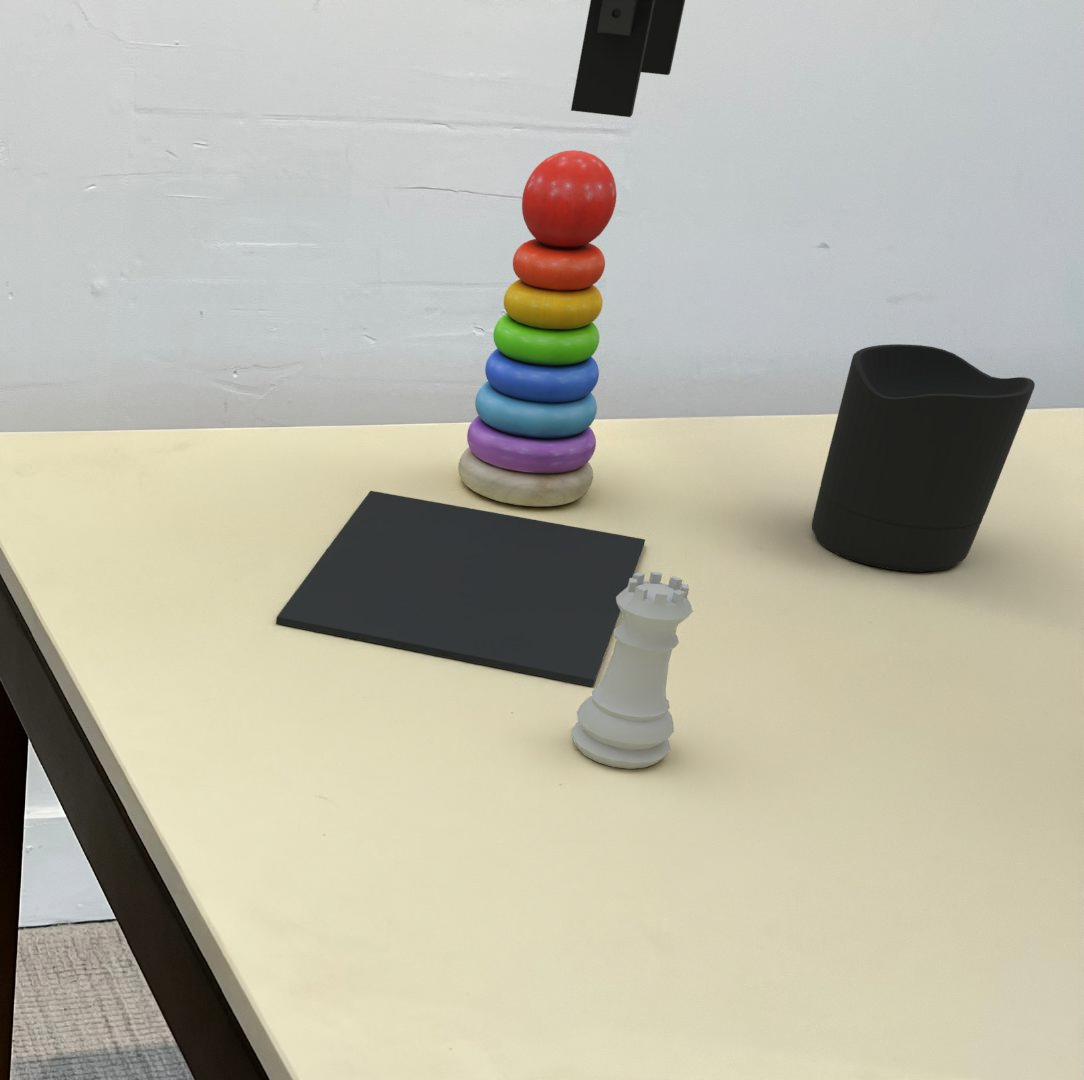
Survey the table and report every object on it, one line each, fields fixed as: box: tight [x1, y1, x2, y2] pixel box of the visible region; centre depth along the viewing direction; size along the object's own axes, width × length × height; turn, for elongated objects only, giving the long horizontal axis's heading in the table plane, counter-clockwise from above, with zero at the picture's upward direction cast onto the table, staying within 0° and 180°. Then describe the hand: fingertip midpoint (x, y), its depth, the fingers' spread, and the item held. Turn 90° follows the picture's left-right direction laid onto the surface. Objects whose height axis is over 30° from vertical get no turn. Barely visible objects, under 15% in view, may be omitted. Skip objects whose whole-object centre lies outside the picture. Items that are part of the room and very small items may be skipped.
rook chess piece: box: [570, 571, 694, 770], centre depth 81 cm, size 4×4×8 cm
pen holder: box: [811, 343, 1036, 573], centre depth 103 cm, size 9×9×10 cm
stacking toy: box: [457, 149, 617, 507], centre depth 105 cm, size 8×8×19 cm
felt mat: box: [275, 490, 646, 688], centre depth 99 cm, size 16×20×1 cm
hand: (623, 91), depth 90 cm, fingers open, 13 cm apart
